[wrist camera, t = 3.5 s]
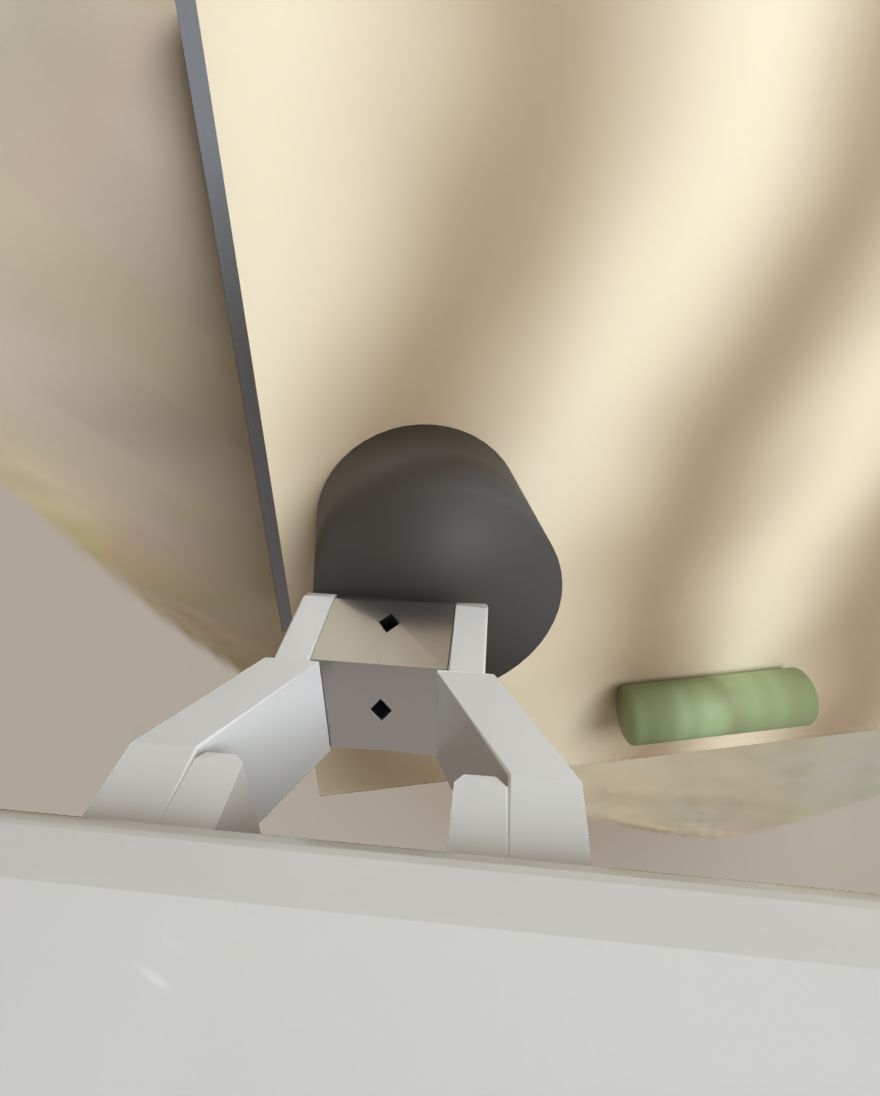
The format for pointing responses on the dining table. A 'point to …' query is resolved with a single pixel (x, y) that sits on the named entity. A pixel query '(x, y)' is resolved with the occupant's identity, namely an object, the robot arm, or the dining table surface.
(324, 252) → the plate
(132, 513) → the dining table surface
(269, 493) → the base
